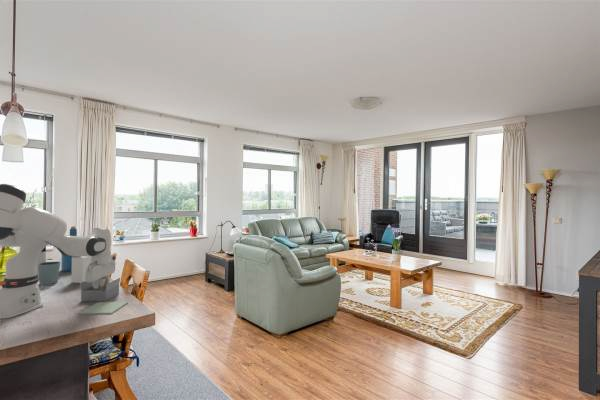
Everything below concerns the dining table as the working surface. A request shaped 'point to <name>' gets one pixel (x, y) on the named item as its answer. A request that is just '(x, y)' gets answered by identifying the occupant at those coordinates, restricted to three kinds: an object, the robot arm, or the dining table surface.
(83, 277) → the milk carton
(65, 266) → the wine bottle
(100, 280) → the box
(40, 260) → the travel mug
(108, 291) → the storage tote
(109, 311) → the sage mat
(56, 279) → the grey-green plant pot
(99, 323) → the dining table surface
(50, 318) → the dining table surface
